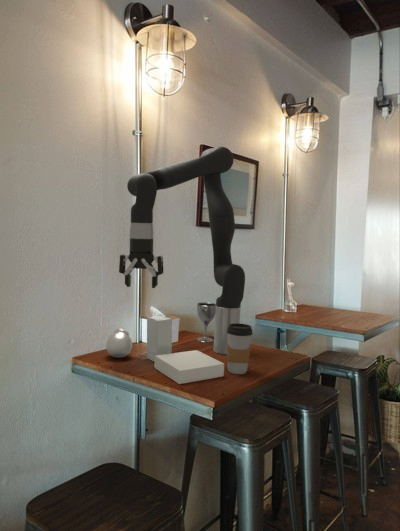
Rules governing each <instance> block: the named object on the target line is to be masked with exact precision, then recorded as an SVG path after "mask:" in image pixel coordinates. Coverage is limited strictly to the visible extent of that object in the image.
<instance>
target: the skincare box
mask: <svg viewBox="0 0 400 531" xmlns="http://www.w3.org/2000/svg"><path fill="white" fill-rule="evenodd" d="M172 329H173V318H172V317H171V318H170V317H168V316H165V315H161V314H160V315H150V316H146V359H148V360H150V361H152V362H154V363H155V356H156V355H164V354H171V353H173V351H172V347H173V345H172V344H173V342H172V339H173V338H172V337H173V332H172V331H173V330H172Z"/></svg>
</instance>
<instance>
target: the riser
mask: <svg viewBox="0 0 400 531" xmlns="http://www.w3.org/2000/svg"><path fill="white" fill-rule="evenodd" d="M154 369H156V370H157V371H159V372H160V373H162V374H163V375H164V376H166V377H168V378H169V379H171V380H172V381H174V382H176V383H177V384H179V385H182V384H187V383H193V382H199V381H204V380H205V381H206V380H210V379H216V378H221V377H224V375H225V374H224V373H225V363H223V362H222V361H220V360H218V359H216V358H214V357H211V356H209V355H207V354H206V353H204V352H201V351H200V350H198V349H194V350H188V351H187V350H186V351H181V352H180V351H179V352H172V353H171V354H164V355H156V356H155V362H154Z"/></svg>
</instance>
